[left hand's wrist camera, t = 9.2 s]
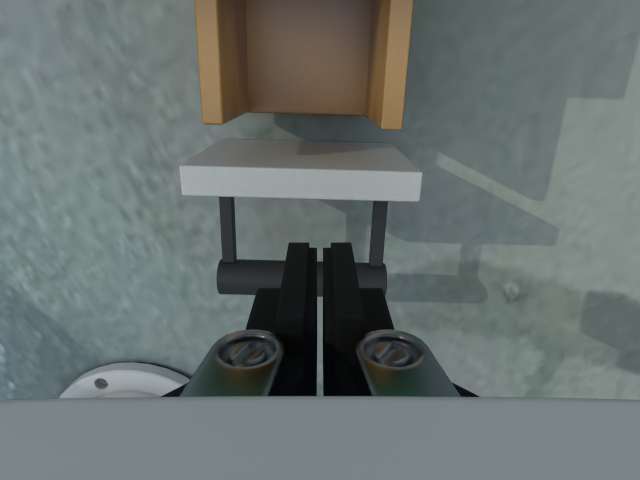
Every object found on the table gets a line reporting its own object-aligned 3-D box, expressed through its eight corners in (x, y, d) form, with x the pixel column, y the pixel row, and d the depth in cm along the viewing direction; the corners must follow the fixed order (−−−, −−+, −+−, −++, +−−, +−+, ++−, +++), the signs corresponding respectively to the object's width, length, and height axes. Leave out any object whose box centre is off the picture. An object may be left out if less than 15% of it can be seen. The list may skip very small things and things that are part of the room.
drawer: (382, 262, 26) (405, 332, 19) (227, 258, 26) (192, 327, 19) (416, -144, 20) (472, -273, 12) (207, -151, 19) (140, -285, 12)
